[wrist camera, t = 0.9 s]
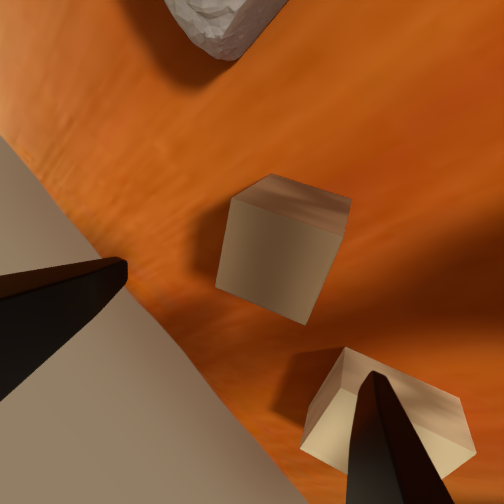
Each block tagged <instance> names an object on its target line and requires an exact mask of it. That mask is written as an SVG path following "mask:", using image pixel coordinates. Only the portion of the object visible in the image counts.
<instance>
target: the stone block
mask: <svg viewBox="0 0 504 504" xmlns="http://www.w3.org/2000/svg"><path fill="white" fill-rule="evenodd" d="M164 1H165V3H166V5H167V7H168V9H169V10H170V12H171V14H172V15H173V17H174V18H175V20H176V21H177V23H178V25H179V26H180V27H181V28H182V29H183V30H184V32H185V33H186V35H187V36H188V38H189V39H190V40H191V41H192V43H194V44H195V45H196V46H198V47H200V48H201V49H203V50H204V51H205V52H207V53H208V54H209V55H210V56H212V57H214V58H216V59H218V60H219V59H223V60H226V61H234V60H236V59H238V58H239V57H241V56H242V55H243V54H244V52H245V51H246V50H247V49H248V48H249V47H250V46H251V45H252V44H253V42H254V41H255V40H256V39H257V37H258V36H259V35H260V34H261V33H262V31H263V30H264V29H265V28H266V26H267V25H268V24H269V23H270V22H271V20H272V19H273V18H274V17H275V16H276V14H277V13H278V12H279V11H280V9H281V8H282V7H283V6H284V5H285V3H286V2H287V1H288V0H164Z"/></svg>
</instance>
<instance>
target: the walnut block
mask: <svg viewBox="0 0 504 504" xmlns="http://www.w3.org/2000/svg"><path fill="white" fill-rule="evenodd" d="M351 200H352V199H350V198H347V197H344V196H340V195H337V194H334V193H331V192H328V191H325V190H322V189H319V188H315V187H312V186H309V185H306V184H303V183H300V182H297V181H293V180H290V179H287V178H284V177H281V176H278V175H275V174H270V175H268V176H267V177H265V178H263V179H262V180H260V181H258V182H257V183H255V184H254V185H252V186H250V187H249V188H247V189H245V190H244V191H242V192H241V193H239V194H237V195H236V196H234V197H232V198H231V203H230V209H229V214H228V219H227V225H226V230H225V236H224V241H223V246H222V252H221V257H220V262H219V268H218V273H217V279H216V284H215V287H216V288H219V289H221V290H223V291H226V292H228V293H230V294H233V295H235V296H237V297H240V298H242V299H244V300H247V301H249V302H251V303H254V304H256V305H258V306H261V307H263V308H265V309H268V310H270V311H272V312H275V313H277V314H279V315H282V316H284V317H286V318H289V319H291V320H293V321H296V322H298V323H300V324H303V325H306V323H307V321H308V318H309V316H310V314H311V312H312V309H313V307H314V305H315V302H316V300H317V298H318V295H319V293H320V291H321V288H322V286H323V284H324V281H325V279H326V277H327V274H328V272H329V270H330V267H331V265H332V263H333V261H334V258H335V256H336V254H337V251H338V249H339V247H340V244H341V242H342V240H343V237H344V233H345V228H346V224H347V219H348V214H349V210H350V205H351Z"/></svg>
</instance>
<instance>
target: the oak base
mask: <svg viewBox="0 0 504 504" xmlns="http://www.w3.org/2000/svg"><path fill="white" fill-rule="evenodd" d="M372 370H374V371H377V372H379V373H381V374H383V375H385V376H386V377H387V378H388V380H389V382H390V384H391V386H392V387H393V389H394V391H395V393H396V395H397V397H398V399H399V400H400V402H401V404H402V406H403V408H404V410H405V412H406V414H407V415H408V417H409V419H410V421H411V423H412V425H413V427H414V429H415V430H416V432H417V434H418V436H419V438H420V440H421V442H422V444H423V445H424V447H425V449H426V451H427V453H428V455H429V457H430V459H431V460H432V462H433V464H434V466H435V468H436V470H437V472H438V474H439V475H440V477H441V479H443V478H444V477H445V476H447V475H448V474H450V473H451V472H452V471H454V470H455V469H456V468H458V467H459V466H460V465H462V464H463V463H464V462H466V461H467V460H469V459H470V458H471V457H473V456H474V455H475V454H477V453H476V450H475V447H474V444H473V440H472V437H471V434H470V431H469V428H468V424H467V421H466V418H465V415H464V412H463V408H462V405H461V402H460V399H459V398H458V397H455V396H453V395H451V394H449V393H447V392H444V391H442V390H440V389H438V388H436V387H433V386H431V385H429V384H427V383H425V382H422V381H420V380H418V379H416V378H414V377H411V376H409V375H407V374H405V373H403V372H400V371H398V370H396V369H394V368H392V367H389V366H387V365H385V364H383V363H381V362H378V361H376V360H374V359H372V358H369V357H367V356H365V355H363V354H361V353H358V352H356V351H354V350H352V349H350V348H347V347H345V348H344V349H343V351H342V353H341V354H340V356H339V357H338V359H337V361H336V362H335V364H334V366H333V367H332V369H331V371H330V372H329V374H328V376H327V377H326V379H325V381H324V382H323V384H322V385H321V387H320V389H319V390H318V392H317V394H316V395H315V397H314V399H313V400H312V402H311V404H310V405H309V407H308V412H307V417H306V422H305V426H304V431H303V436H302V441H301V445H300V449H301V450H303V451H305V452H307V453H309V454H310V455H312V456H314V457H316V458H318V459H320V460H321V461H323V462H325V463H327V464H329V465H331V466H332V467H334V468H336V469H338V470H340V471H342V472H343V473H345V474H347V475H348V457H349V444H350V436H351V430H352V425H353V419H354V413H355V407H356V402H357V396H358V391H359V388H360V386H361V384H362V383H363V381H364V380H365V378H366V377H367V376H368V374H369V373H370V372H371V371H372Z"/></svg>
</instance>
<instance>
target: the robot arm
mask: <svg viewBox="0 0 504 504" xmlns="http://www.w3.org/2000/svg"><path fill="white" fill-rule="evenodd" d="M127 279H128V263H127V261H126V260H124V259H122V258H120V257H110V258H104V259H98V260H92V261H85V262H79V263H74V264H67V265H61V266H55V267H49V268H43V269H37V270H31V271H25V272H19V273H13V274H8V275H1V276H0V402H1V401H2V400H3V399H4V398H5V397H6V396H7V395H8V394H9V393H11V392H12V391H13V390H14V389H15V388H16V387H17V386H18V385H20V384H21V383H22V382H23V381H24V380H25V379H26V378H27V377H28V376H30V375H31V374H32V373H33V372H34V371H35V370H36V369H37V368H38V367H39V366H41V365H42V364H43V363H44V362H45V361H46V360H47V359H48V358H50V357H51V356H52V355H53V354H54V353H55V352H56V351H57V350H59V349H60V347H62V346H63V345H64V344H65V343H66V342H67V341H69V340H70V338H72V337H73V336H74V335H75V334H76V333H77V332H79V331H80V330H81V329H82V328H83V327H84V326H85V325H86V324H87V323H89V322H90V321H91V320H92V319H93V318H94V317H95V316H96V315H97V314H98V313H99V312H100V311H101V310H102V309H103V308H104V307H105V306H106V305H107V303H108V302H109V301H110V300H111V299H112V298H113V297H114V296H115V294H117V293H118V291H119V290H120V289H121V288H122V287H123V286H124V285H125V284H126V282H127ZM346 504H455V503H454V502H453V500H452V498H451V496H450V494H449V492H448V490H447V488H446V487H445V485H444V483H443V481H442V479H441V477H440V475H439V474H438V472H437V470H436V468H435V466H434V464H433V462H432V460H431V459H430V457H429V455H428V453H427V451H426V449H425V447H424V445H423V444H422V442H421V440H420V438H419V436H418V434H417V432H416V430H415V429H414V427H413V425H412V423H411V421H410V419H409V417H408V415H407V414H406V412H405V410H404V408H403V406H402V404H401V402H400V400H399V399H398V397H397V395H396V393H395V391H394V389H393V387H392V386H391V384H390V382H389V380H388V378H387V377H386V376H385V375H383V374H381V373H379V372H377V371H374V370H372V371H371V372H370V373H369V374H368V376H367V377H366V378H365V380H364V381H363V383H362V384H361V386H360V388H359V391H358V396H357V402H356V407H355V413H354V419H353V425H352V430H351V436H350V444H349V457H348V475H347V492H346Z"/></svg>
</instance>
